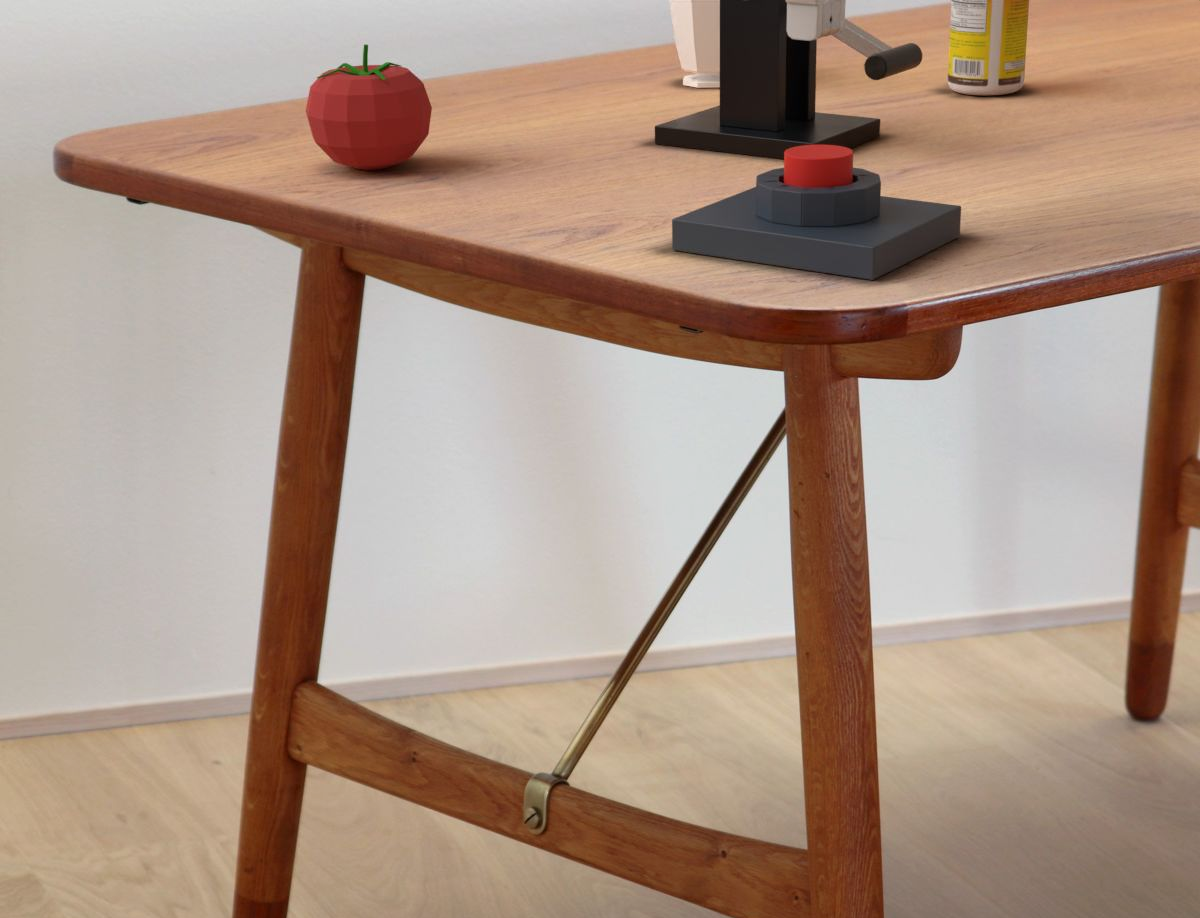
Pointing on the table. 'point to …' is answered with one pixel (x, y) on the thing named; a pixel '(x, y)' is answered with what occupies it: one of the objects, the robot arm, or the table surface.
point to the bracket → (764, 92)
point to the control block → (818, 227)
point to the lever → (880, 52)
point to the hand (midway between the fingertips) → (815, 36)
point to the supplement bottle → (987, 46)
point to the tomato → (369, 114)
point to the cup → (698, 40)
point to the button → (818, 166)
